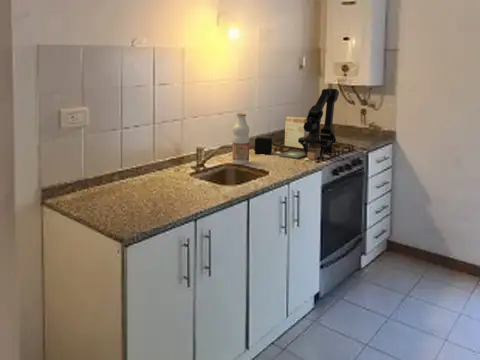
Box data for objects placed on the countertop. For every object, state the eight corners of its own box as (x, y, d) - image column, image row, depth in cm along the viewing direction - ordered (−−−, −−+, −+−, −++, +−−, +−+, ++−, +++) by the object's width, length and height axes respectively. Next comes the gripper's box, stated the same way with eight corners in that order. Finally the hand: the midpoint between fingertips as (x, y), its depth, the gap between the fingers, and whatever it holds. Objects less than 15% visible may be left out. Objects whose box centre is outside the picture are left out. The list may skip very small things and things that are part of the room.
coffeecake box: (309, 147, 351) (310, 117, 346) (303, 148, 345) (304, 118, 340) (290, 144, 360) (291, 115, 355) (284, 145, 354) (285, 116, 350)
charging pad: (290, 152, 332) (290, 151, 331) (308, 155, 326) (308, 153, 325) (279, 156, 319) (279, 155, 319) (297, 159, 313) (297, 157, 313)
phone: (312, 156, 323) (312, 149, 322) (319, 157, 320) (319, 150, 319) (307, 158, 316) (307, 152, 315) (314, 159, 314) (314, 152, 313)
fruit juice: (229, 162, 302) (229, 113, 295) (242, 160, 307) (243, 112, 300) (238, 165, 294) (239, 115, 287) (252, 163, 300) (253, 114, 293)
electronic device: (270, 155, 324) (271, 138, 321) (254, 154, 326) (254, 138, 323) (271, 153, 328) (272, 137, 325) (255, 152, 330) (256, 137, 327)
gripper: (294, 130, 312) (293, 156, 316) (324, 133, 303) (322, 159, 307) (302, 127, 321) (301, 153, 325) (331, 130, 312) (330, 156, 316)
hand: (313, 155), depth 318 cm, fingers open, 9 cm apart
